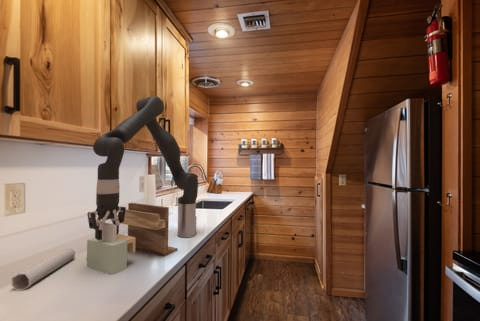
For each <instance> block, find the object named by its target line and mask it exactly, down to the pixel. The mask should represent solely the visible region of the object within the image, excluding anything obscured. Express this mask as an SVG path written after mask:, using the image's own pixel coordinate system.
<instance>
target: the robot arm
mask: <svg viewBox="0 0 480 321" xmlns="http://www.w3.org/2000/svg"><path fill="white" fill-rule="evenodd" d="M135 104H136V105H135V107H136V111H137V112H135V113H133V114H132V115H131V116H128V117H127V118H126V119H124V120H122V121H121V122H120V123H119V124H118V125H116V127H114V128H113V129H111V130H109V131H107V132H105V133H104V134H102V135H101V136H99V137H98V138H96V140H94V142H93V146H92V148H93V149H92V150H93V152H94V154H95V155H96V156H98V157H105V158H106V160H105V161H104V162H103V163H99V164H98V166H97V180H96V191H95V192H96V194H95V195H96V196H95V197H96V198H95V199H96V200H95V204H96V209H95V210H94V211H89V212H87V221H88V228H89V229H91V230H95V232H94V238H96V239H97V240H102V226H103V224H104V223H106V222H107V220H110V221H111V224H114V225H117V235H118V234H120V233H119V232H120V224H121V223H123V222H124V217H125V211H126V209H127V207H126V206H120V205H119V204H120V187H121V186H120V166H121V163H122V161H123V157H124V155H125V145H124V144H127V143H129V142H130V141H131V140H132V139H133V138H134V137H135V135H137V134H138V133H139V132H140V131H141V130H142V129H143V128H144V127H146V128H147V130H148V131H149V133H150V135H151V136H152V138H153V140H154V141H155V143H156V146H157V148H158V150H159V152H160V154H161V156H162V157H163V159H164V161H165V163H166V166H167V167H168V169H169V171H170V173H171V175H172V178H173V181H174V183H175V185H176V187H177V189H179V190H181V191H183V195H182V196H179V197H178V199H177V237H179V238H185V239H186V238H193V237H194V236H196V234H197V216H196V213H197V211H196V208H197V198H198V195H199V194H198V191H199V178H198V176H197V175H196V173H193V172H186V171H185V170H184V168H183V166H182V163H181V149H180V146H179V144H178V142H177V140H176V138H175V136H173V135H172V133H170V132H169V131H167V130H166V129H165V128H164V127H163V126H162V125H160V123H159V122H158V120H157V117H159V116H160V115H162V114H164V110H165V104H164V101H163V100H162V99H161V98H160V97H158V96H157V95H151V96H148V97H145V98H142V99H138V100H137V102H136V103H135Z"/></svg>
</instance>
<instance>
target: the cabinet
mask: <svg viewBox="0 0 480 321" xmlns="http://www.w3.org/2000/svg"><path fill="white" fill-rule="evenodd" d="M86 240H87V241H86V244H87V245H86V268H90V269H92V270H96V271H99V272H102V273H106V274H108V275H112V276H113V275H115V274H117V273H119V272H121V271H124V270H126V269H127V268H128V252H129V253H135V252H136V250H135V240H136V237H131V236H128V235H125V234H121V233H118V235H117V225H114V224H113V223H109V222H105V223H104V224H103V226H102V240H97V239H96V238H95V237H92V238H88V239H86Z"/></svg>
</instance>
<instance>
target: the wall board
mask: <svg viewBox="0 0 480 321" xmlns="http://www.w3.org/2000/svg"><path fill="white" fill-rule="evenodd" d="M127 205H128V206H127V207H128V208H126V211H125V217H124V222H123V223H120V224H121V225H127V236H131V237H136V240H135V251H140V252H144V253H149V254H153V255H158V256H161V257H166V256H168V255H171V254H173V253H176V252H178V250H179V249H178V247H173V246H170V245H169V225H170V224H169V222H170V221H169V213H170V210H169V209H170V208H169V207H168V206H161V205H160V206H159V205H153V204H144V203H136V202H128V204H127Z"/></svg>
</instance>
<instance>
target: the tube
mask: <svg viewBox="0 0 480 321" xmlns="http://www.w3.org/2000/svg"><path fill="white" fill-rule="evenodd" d="M75 254H76V251H75V250H74V249H73V248H65V249H63V250H61V251H59V252H58V253H56V254H54V255H52V256H49V258H46V259H44V260H42V261H40V262H39V263H37V264H36V265H33V266H32V267H30V268H28V269H26V270H24V271H22V272H18V273H17V274H16V275H15V276H12V277H11V286H12V288H13V289H14V290H15V291H24V290H27V289H28V288H29V287H31V285H33V284H35V283H36V282H38V281H41V279H43V278H45V277H46V276H47V275H50V274H51V273H52V272H54V271H55V270H57V269H59V268H60V267H63V266H64V265H65V264H66V263H68V262H70V261H72V260H73V259H74V258H76V256H75Z"/></svg>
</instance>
